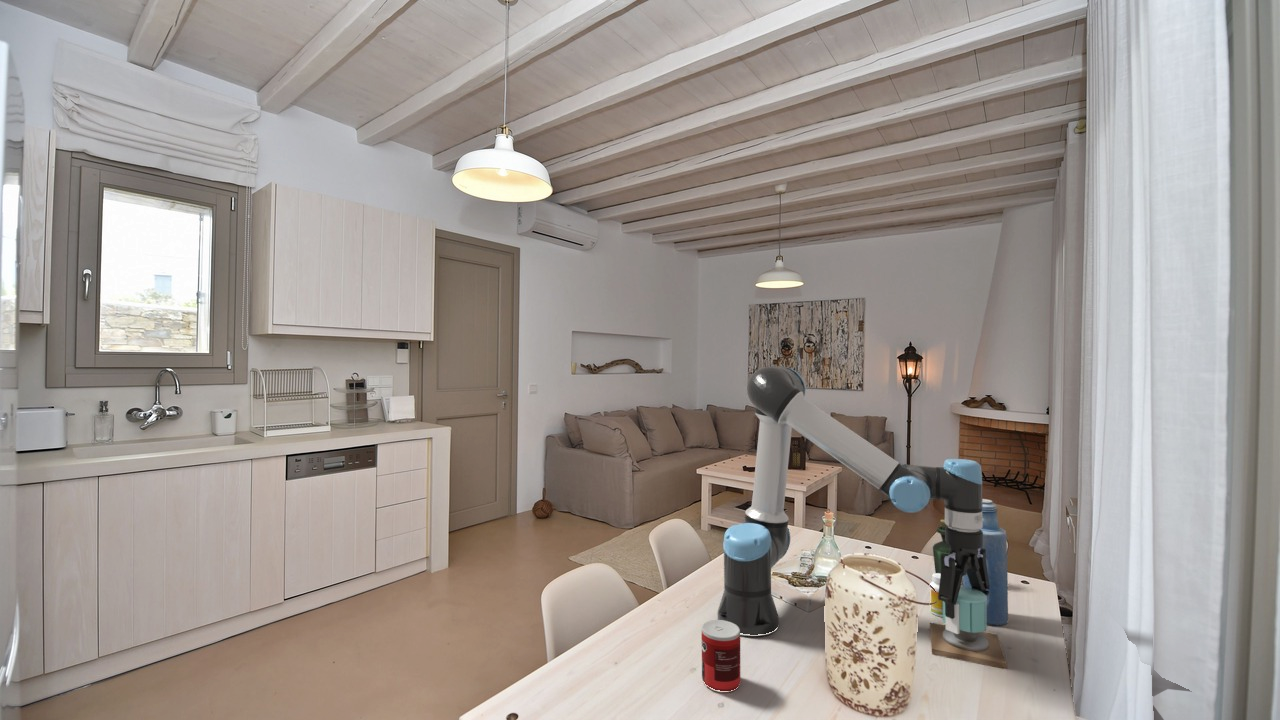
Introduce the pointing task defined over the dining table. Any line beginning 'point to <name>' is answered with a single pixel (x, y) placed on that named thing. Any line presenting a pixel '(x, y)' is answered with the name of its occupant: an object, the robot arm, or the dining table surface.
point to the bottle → (994, 565)
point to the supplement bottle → (936, 596)
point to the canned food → (721, 655)
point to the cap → (971, 610)
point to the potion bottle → (941, 548)
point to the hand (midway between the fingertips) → (965, 626)
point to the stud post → (967, 646)
